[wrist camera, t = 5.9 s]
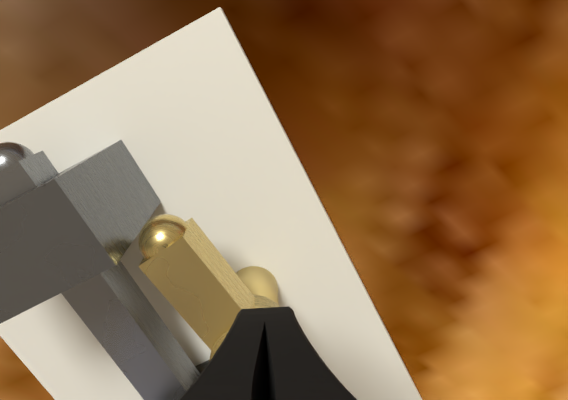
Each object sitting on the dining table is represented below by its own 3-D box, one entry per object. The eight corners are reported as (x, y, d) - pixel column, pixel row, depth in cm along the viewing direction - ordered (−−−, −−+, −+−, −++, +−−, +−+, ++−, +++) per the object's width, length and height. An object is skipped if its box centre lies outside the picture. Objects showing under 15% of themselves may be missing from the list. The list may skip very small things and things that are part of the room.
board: (423, 402, 24) (452, 463, 20) (169, 510, 26) (153, 585, 22) (222, 9, 18) (211, -3, 14) (-100, 190, 19) (-185, 221, 16)
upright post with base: (258, 402, 22) (256, 518, 17) (199, 429, 22) (177, 551, 17) (64, 114, 17) (-29, 142, 12) (-7, 153, 18) (-129, 198, 12)
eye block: (161, 201, 19) (116, 265, 13) (43, 262, 20) (-48, 347, 14) (121, 139, 18) (54, 179, 12) (-1, 205, 19) (-118, 271, 13)
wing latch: (188, 188, 16) (176, 208, 14) (300, 333, 18) (305, 370, 16) (125, 229, 16) (105, 256, 14) (243, 366, 18) (240, 408, 16)
